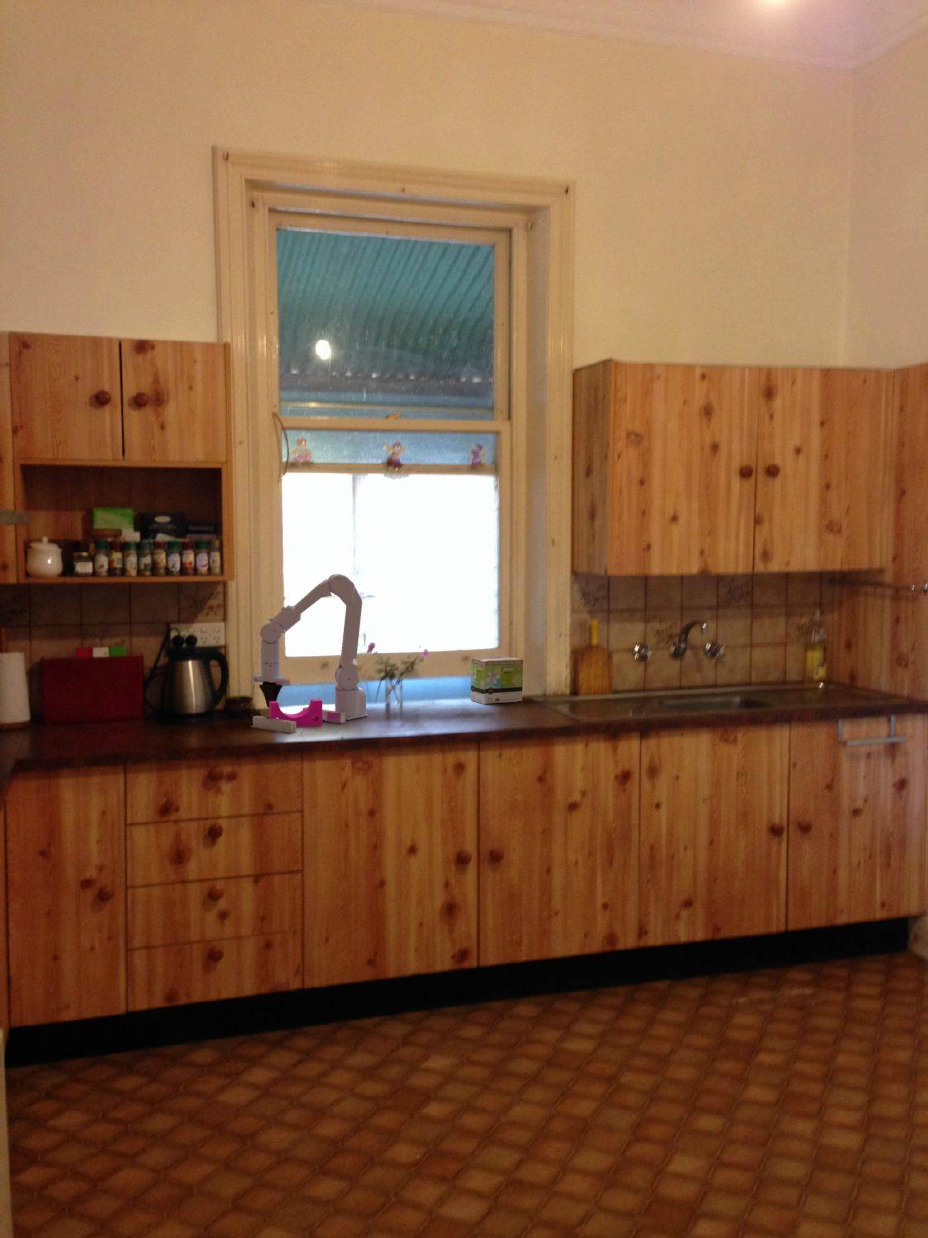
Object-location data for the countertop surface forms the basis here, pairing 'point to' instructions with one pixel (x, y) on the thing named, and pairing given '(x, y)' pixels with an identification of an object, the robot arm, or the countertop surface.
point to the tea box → (496, 680)
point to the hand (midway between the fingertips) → (271, 707)
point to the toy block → (302, 718)
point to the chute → (290, 726)
